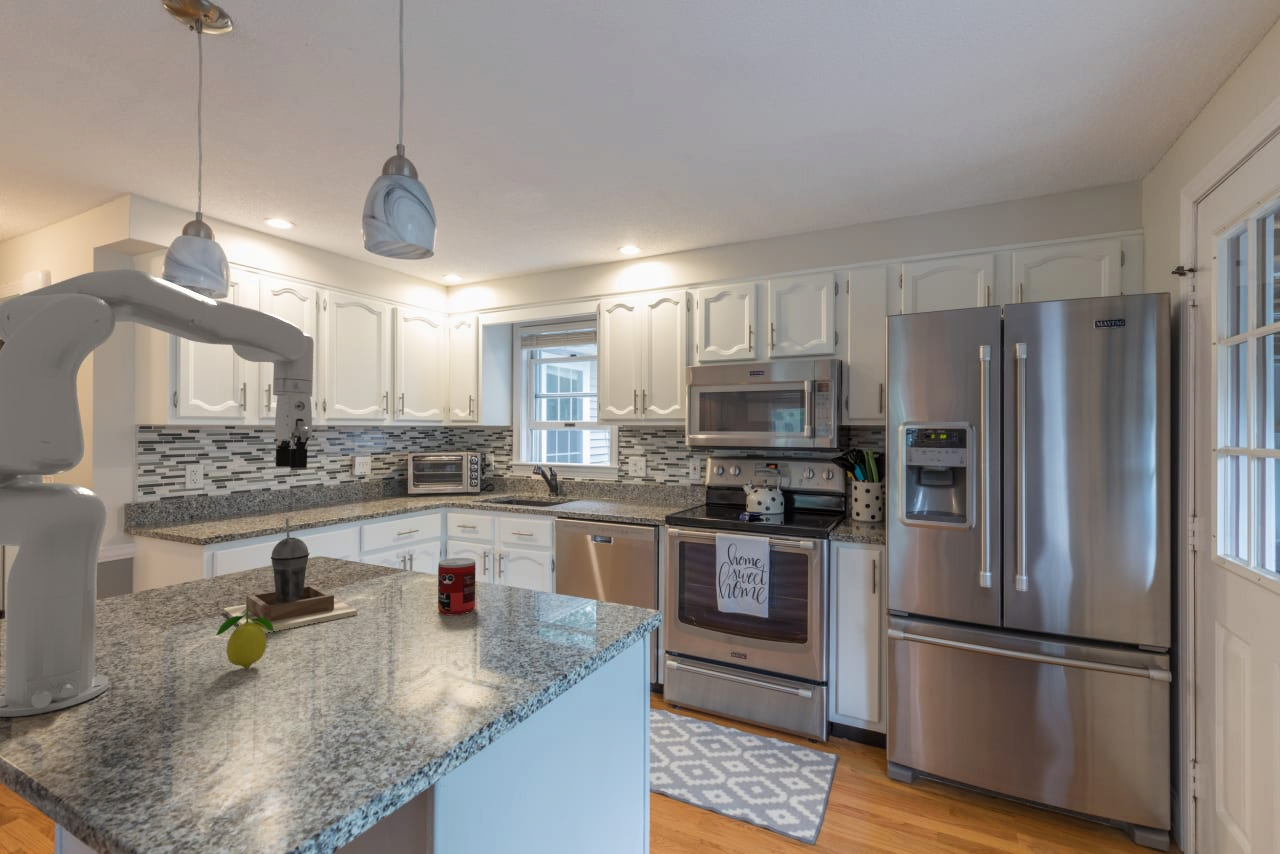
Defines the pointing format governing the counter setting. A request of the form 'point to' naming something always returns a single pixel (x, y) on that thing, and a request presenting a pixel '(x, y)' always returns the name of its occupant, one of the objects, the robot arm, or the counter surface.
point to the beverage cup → (289, 568)
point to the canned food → (456, 585)
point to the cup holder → (291, 609)
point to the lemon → (246, 640)
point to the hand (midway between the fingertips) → (290, 467)
